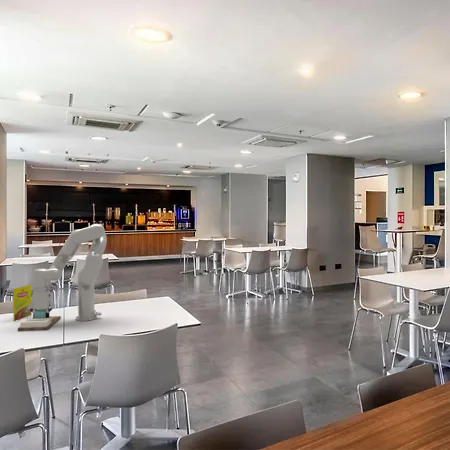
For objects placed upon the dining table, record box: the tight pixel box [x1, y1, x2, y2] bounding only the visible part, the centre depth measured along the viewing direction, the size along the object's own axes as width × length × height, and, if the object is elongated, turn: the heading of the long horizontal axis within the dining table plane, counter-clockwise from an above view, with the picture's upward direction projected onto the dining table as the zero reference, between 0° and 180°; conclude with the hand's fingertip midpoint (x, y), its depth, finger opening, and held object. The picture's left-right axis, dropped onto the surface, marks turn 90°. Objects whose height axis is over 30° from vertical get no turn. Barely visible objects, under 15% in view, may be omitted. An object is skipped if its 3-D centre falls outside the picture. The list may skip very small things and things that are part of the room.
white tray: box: [19, 317, 51, 328], centre depth 215 cm, size 14×8×3 cm, turn 98°
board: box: [17, 315, 62, 332], centre depth 222 cm, size 16×24×2 cm, turn 8°
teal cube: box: [34, 309, 46, 318], centre depth 223 cm, size 6×6×6 cm
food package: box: [12, 284, 33, 322], centre depth 235 cm, size 15×1×20 cm, turn 168°
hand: (41, 319), depth 223 cm, fingers closed on teal cube, 6 cm apart
